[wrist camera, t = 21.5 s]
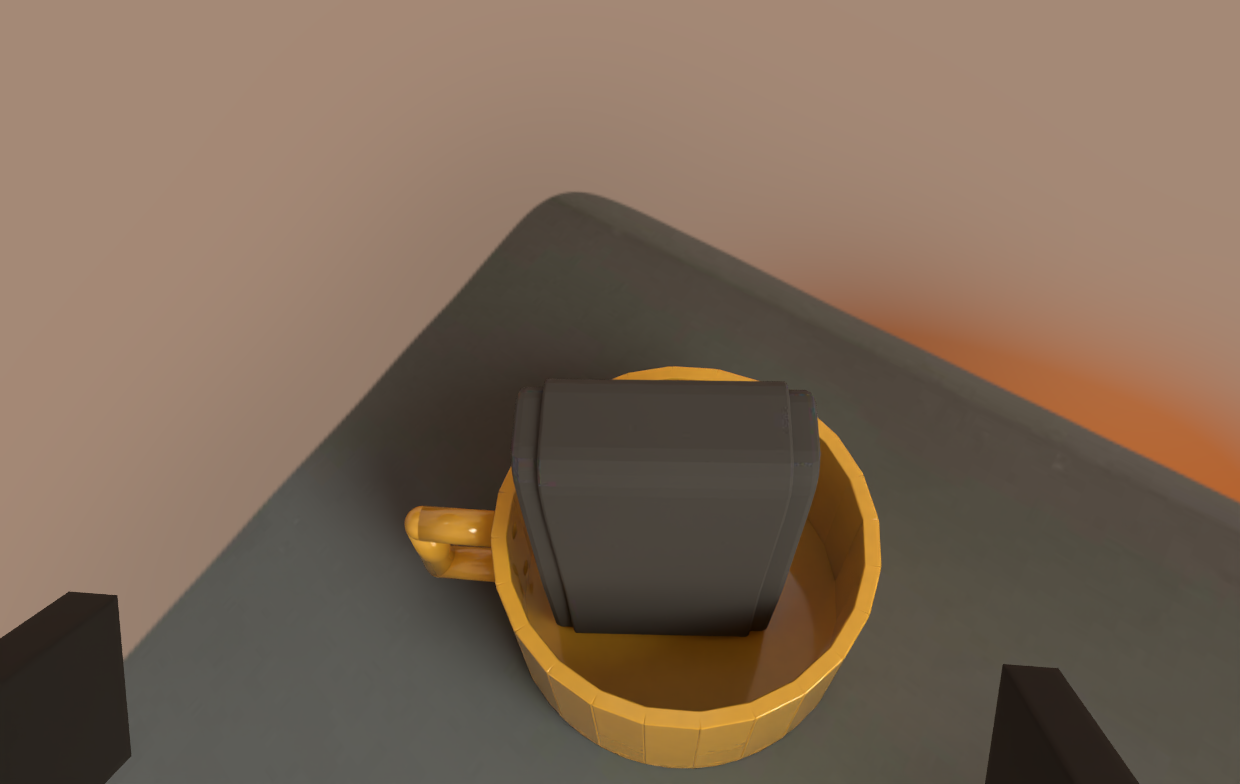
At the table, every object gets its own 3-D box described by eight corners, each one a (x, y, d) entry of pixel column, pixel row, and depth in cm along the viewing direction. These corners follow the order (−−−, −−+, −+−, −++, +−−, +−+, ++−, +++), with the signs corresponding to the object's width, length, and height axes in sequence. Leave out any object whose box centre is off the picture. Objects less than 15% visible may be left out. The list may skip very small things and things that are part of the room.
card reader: (770, 552, 42) (822, 361, 29) (775, 644, 40) (833, 482, 27) (559, 548, 42) (518, 357, 29) (552, 639, 40) (505, 476, 27)
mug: (842, 459, 45) (872, 377, 39) (852, 785, 37) (890, 746, 31) (461, 433, 46) (433, 350, 40) (398, 743, 39) (352, 698, 33)
